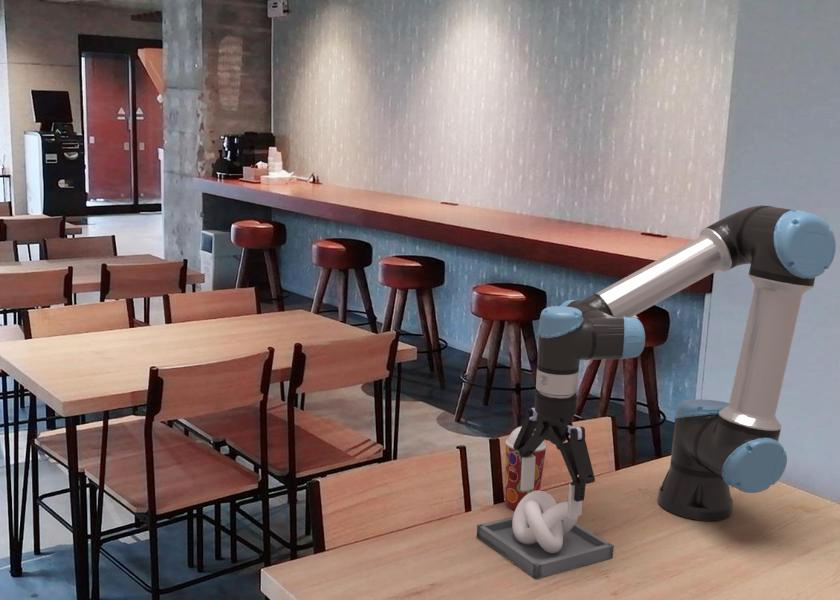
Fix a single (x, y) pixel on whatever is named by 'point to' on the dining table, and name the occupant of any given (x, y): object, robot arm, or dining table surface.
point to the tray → (534, 559)
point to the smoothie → (514, 472)
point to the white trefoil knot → (542, 521)
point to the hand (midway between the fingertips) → (549, 502)
